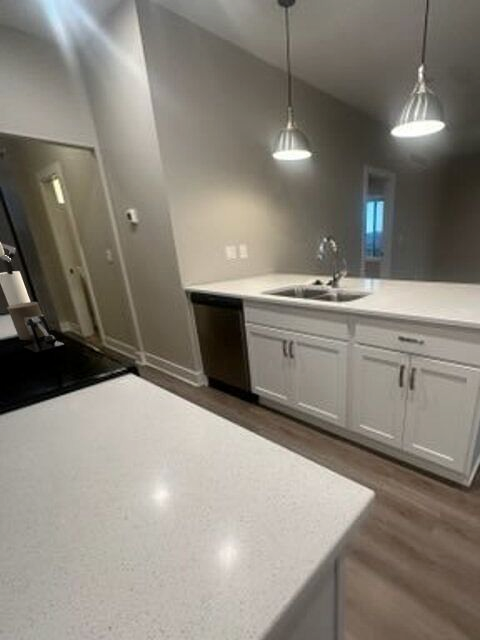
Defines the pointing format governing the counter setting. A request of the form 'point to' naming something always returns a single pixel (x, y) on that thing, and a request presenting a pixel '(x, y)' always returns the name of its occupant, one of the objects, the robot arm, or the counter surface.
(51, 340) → the lever
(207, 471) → the counter surface
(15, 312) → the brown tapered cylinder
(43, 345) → the bracket
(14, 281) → the cylindrical container
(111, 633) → the counter surface
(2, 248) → the robot arm
